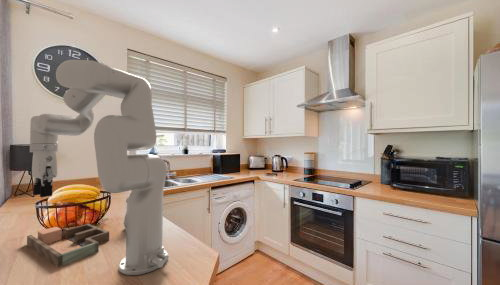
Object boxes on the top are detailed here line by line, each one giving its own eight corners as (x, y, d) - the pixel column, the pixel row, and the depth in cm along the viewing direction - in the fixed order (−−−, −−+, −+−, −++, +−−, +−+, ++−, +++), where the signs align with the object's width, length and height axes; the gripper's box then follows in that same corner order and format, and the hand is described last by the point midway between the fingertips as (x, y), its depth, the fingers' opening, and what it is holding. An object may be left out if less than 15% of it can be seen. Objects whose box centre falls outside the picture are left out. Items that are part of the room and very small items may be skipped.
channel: (118, 243, 71) (118, 235, 71) (57, 267, 57) (58, 256, 57) (82, 228, 84) (82, 221, 84) (26, 244, 71) (27, 235, 71)
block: (61, 240, 74) (61, 229, 74) (42, 245, 70) (42, 234, 70) (56, 237, 77) (56, 226, 77) (37, 242, 72) (37, 231, 73)
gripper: (65, 148, 77) (64, 196, 77) (48, 148, 86) (47, 191, 85) (38, 148, 71) (36, 200, 70) (22, 148, 79) (21, 194, 79)
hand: (42, 194), depth 78 cm, fingers open, 6 cm apart
